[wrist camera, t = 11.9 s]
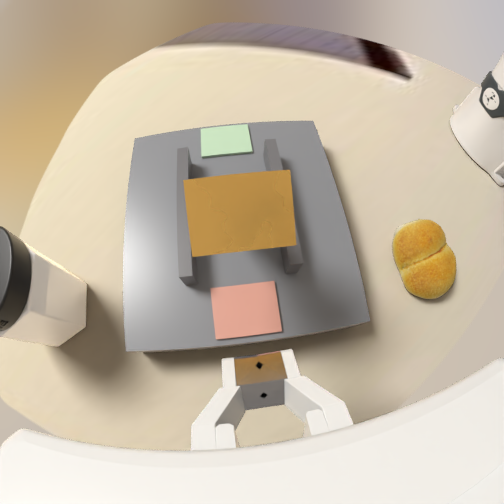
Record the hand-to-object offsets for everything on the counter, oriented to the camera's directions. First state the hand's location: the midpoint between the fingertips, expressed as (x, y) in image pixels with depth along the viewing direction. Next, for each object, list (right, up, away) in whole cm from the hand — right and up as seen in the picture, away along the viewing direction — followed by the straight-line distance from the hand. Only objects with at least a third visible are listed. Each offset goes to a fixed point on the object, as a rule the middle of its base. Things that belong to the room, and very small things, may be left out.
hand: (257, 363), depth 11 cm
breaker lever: (-2, +9, +13) cm, 16 cm away
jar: (-21, -1, +13) cm, 25 cm away
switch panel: (-2, +7, +17) cm, 18 cm away
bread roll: (+19, +4, +17) cm, 25 cm away
